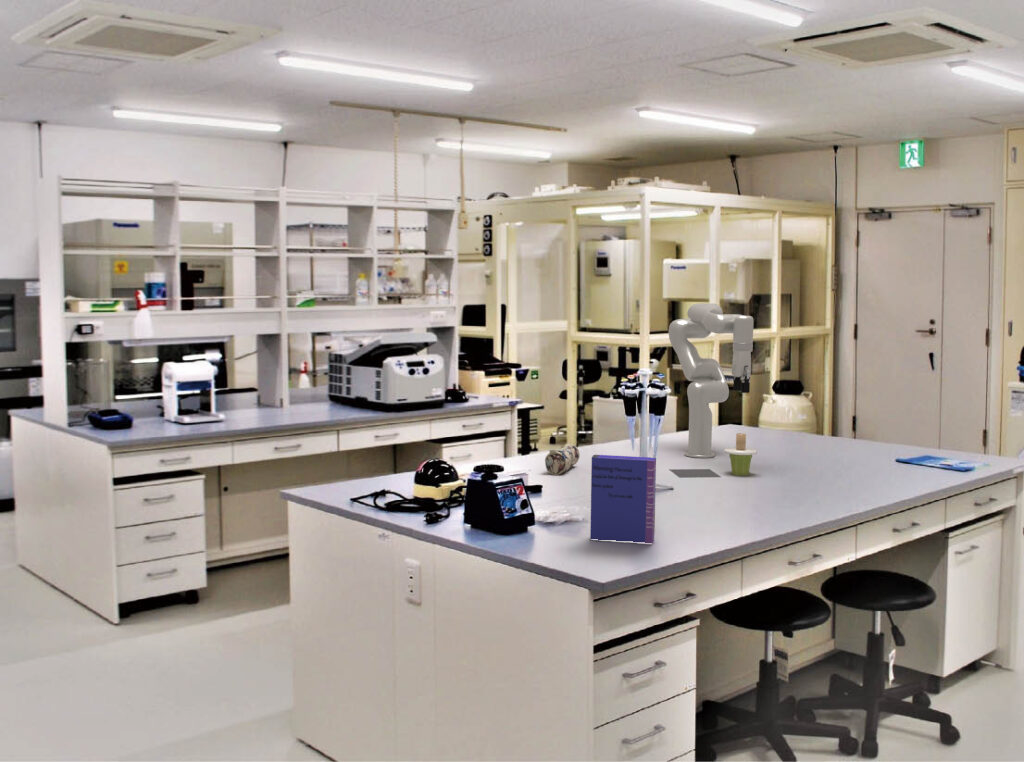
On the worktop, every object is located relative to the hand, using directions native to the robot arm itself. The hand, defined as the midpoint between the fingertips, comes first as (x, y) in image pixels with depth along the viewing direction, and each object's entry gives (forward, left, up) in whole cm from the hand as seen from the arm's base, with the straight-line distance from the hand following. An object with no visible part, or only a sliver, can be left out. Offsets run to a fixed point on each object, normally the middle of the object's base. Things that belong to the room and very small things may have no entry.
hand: (741, 391), depth 399 cm
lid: (+14, -4, -22) cm, 26 cm away
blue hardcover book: (+108, -68, -31) cm, 131 cm away
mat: (+12, -21, -30) cm, 39 cm away
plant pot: (+14, -4, -31) cm, 34 cm away
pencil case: (+1, -70, -31) cm, 76 cm away
